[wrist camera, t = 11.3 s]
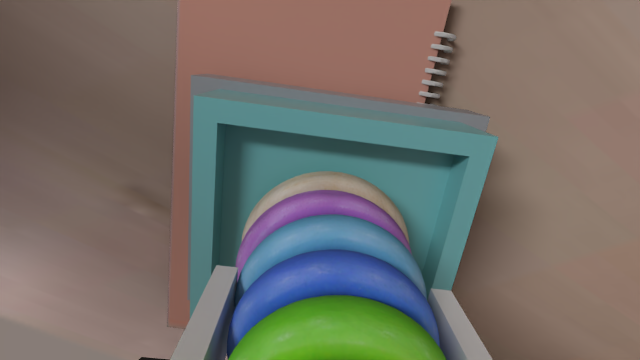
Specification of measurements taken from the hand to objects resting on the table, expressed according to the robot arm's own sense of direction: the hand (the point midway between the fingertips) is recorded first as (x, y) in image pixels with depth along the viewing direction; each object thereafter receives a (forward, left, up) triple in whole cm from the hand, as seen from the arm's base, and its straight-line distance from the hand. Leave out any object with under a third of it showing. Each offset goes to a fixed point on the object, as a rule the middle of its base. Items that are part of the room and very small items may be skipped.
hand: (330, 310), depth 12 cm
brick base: (0, 0, -11) cm, 11 cm away
